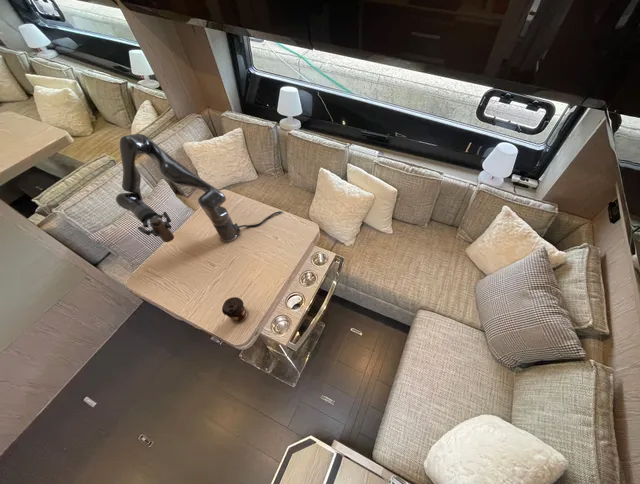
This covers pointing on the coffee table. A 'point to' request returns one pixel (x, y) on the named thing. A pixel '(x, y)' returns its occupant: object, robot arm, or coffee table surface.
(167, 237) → the pepper mill
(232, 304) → the dark brown cylinder
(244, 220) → the coffee table surface
